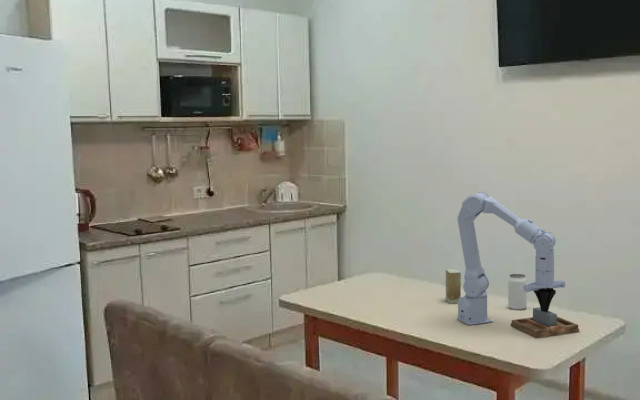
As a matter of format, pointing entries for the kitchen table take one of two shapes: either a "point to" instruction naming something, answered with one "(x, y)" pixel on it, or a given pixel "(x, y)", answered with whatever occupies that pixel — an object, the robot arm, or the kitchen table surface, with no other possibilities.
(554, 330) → the rack
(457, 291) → the skincare box
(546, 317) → the blue-gray rectangular block
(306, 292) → the kitchen table surface
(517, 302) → the can
